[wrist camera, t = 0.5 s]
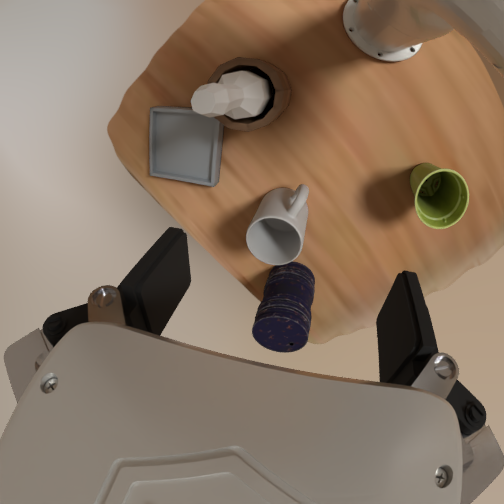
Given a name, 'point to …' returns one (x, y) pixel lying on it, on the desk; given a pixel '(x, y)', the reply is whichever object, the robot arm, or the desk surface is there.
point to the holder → (279, 84)
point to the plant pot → (439, 195)
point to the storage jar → (285, 308)
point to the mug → (279, 226)
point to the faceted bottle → (233, 96)
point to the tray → (185, 145)
